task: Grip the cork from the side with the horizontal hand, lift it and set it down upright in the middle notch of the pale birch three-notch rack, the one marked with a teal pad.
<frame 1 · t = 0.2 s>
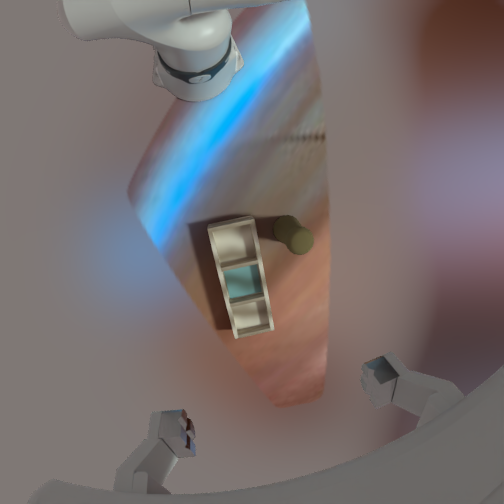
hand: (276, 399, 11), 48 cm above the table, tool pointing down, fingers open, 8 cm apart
cork: (286, 228, 59), on the table
notch rack: (241, 277, 61), on the table
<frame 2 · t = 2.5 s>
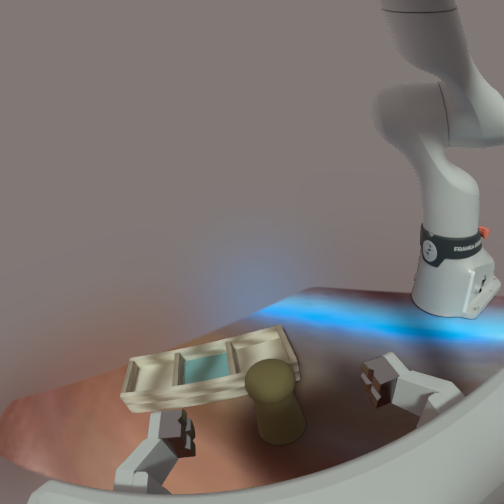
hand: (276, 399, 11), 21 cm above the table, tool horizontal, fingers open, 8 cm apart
cork: (281, 426, 29), on the table
notch rack: (210, 380, 39), on the table
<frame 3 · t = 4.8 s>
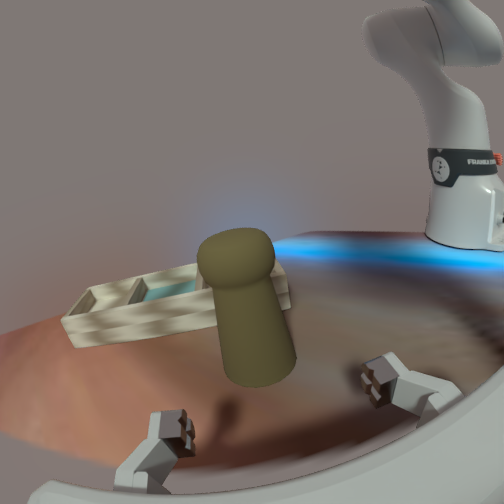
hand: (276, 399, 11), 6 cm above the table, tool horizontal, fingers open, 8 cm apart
cork: (260, 362, 22), on the table
notch rack: (174, 312, 32), on the table
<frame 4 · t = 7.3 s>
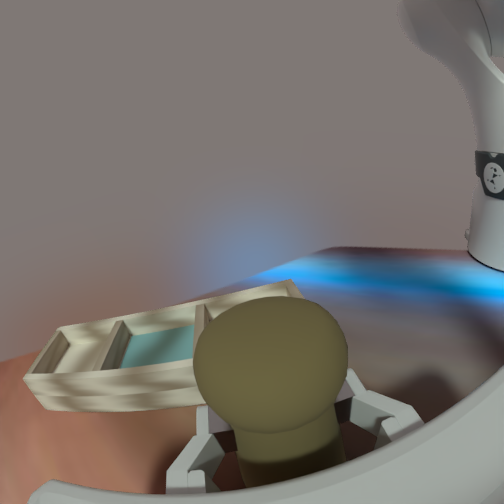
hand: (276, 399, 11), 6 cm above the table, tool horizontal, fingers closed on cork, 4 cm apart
cork: (294, 468, 12), on the table, touching gripper
notch rack: (167, 371, 22), on the table
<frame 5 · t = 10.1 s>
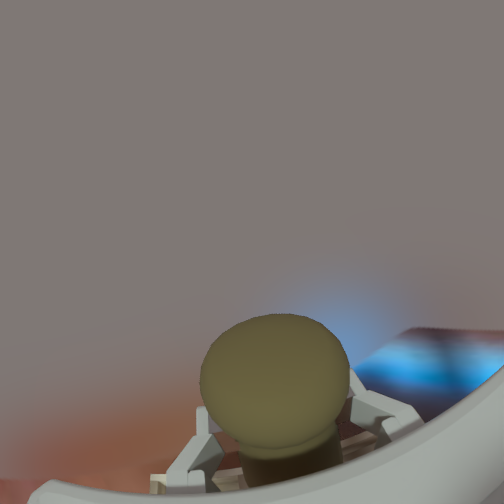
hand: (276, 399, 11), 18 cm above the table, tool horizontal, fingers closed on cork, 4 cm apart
cork: (293, 467, 13), point 11 cm above the table, touching gripper
when the fingers open (9 cm above the table, at t = 12.8 s): cork stays where it is, resting on notch rack.
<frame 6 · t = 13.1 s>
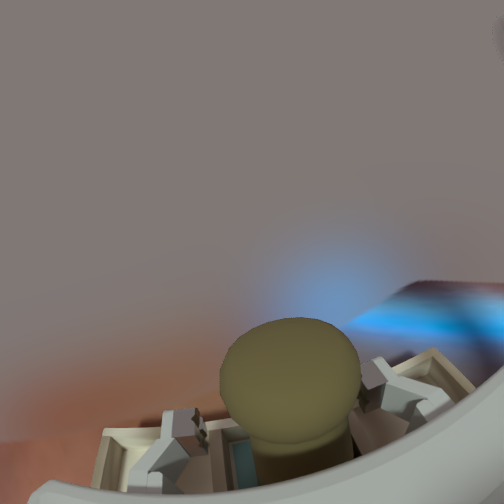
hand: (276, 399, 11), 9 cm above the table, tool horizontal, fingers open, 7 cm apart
cork: (305, 470, 12), point 2 cm above the table, touching notch rack
notch rack: (296, 484, 13), on the table
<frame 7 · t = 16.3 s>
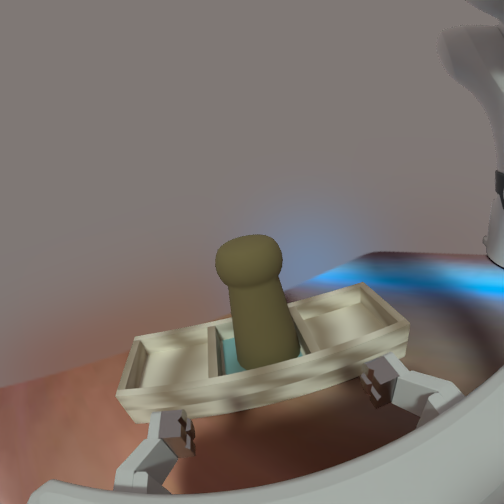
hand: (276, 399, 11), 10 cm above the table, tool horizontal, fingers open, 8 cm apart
cork: (268, 352, 25), point 2 cm above the table, touching notch rack
notch rack: (264, 369, 25), on the table
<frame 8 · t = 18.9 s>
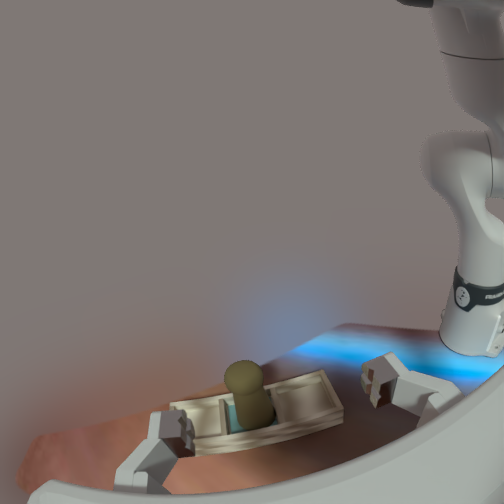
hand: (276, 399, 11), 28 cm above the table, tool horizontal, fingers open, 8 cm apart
cork: (256, 416, 37), point 2 cm above the table, touching notch rack
notch rack: (254, 424, 37), on the table
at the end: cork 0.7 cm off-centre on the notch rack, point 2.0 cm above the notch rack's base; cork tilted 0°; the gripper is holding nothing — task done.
